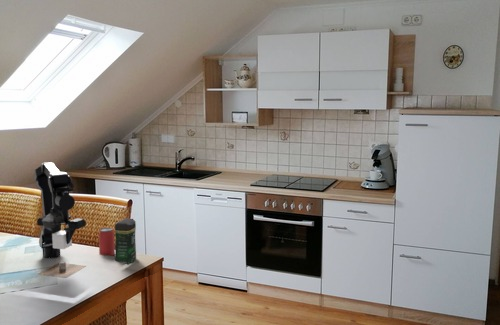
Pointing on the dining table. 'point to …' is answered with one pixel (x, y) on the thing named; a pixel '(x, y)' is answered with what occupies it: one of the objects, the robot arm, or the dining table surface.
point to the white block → (60, 240)
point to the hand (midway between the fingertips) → (62, 243)
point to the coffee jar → (125, 241)
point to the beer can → (106, 242)
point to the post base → (62, 270)
